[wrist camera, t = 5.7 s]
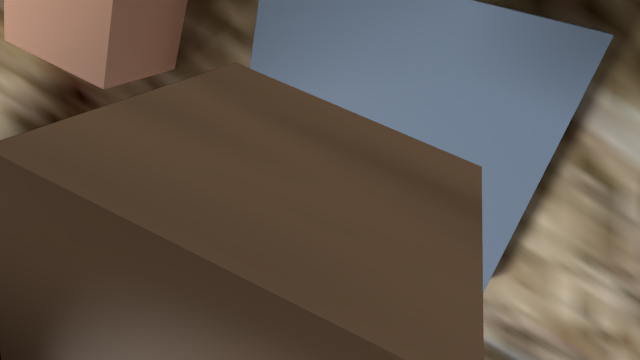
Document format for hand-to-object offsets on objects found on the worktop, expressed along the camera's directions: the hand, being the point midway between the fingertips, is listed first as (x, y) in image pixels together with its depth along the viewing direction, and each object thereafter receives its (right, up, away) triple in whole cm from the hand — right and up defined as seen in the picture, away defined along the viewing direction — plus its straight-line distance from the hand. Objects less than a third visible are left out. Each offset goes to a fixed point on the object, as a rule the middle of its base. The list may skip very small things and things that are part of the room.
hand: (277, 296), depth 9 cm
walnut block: (0, 0, +1) cm, 1 cm away
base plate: (+4, +5, +11) cm, 12 cm away
